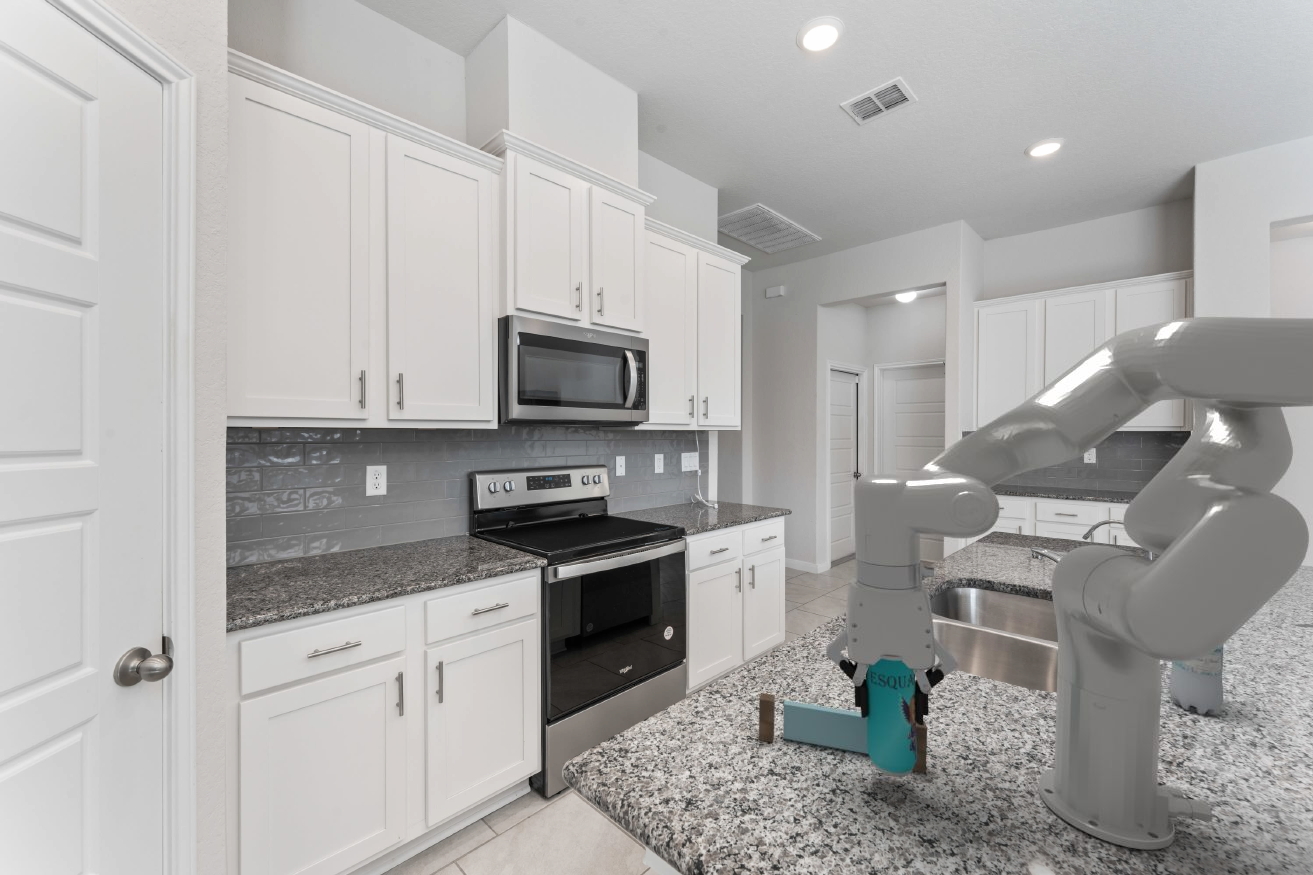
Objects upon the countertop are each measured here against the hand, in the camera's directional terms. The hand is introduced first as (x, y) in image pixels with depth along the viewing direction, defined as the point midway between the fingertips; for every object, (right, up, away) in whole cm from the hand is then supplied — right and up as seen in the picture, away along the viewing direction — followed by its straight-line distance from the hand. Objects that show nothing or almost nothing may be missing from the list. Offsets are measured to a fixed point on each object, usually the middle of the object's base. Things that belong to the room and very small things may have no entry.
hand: (890, 714), depth 69 cm
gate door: (-3, -9, +8) cm, 13 cm away
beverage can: (0, -7, 0) cm, 7 cm away
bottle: (+59, -10, +21) cm, 63 cm away
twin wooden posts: (-4, -9, +8) cm, 13 cm away
